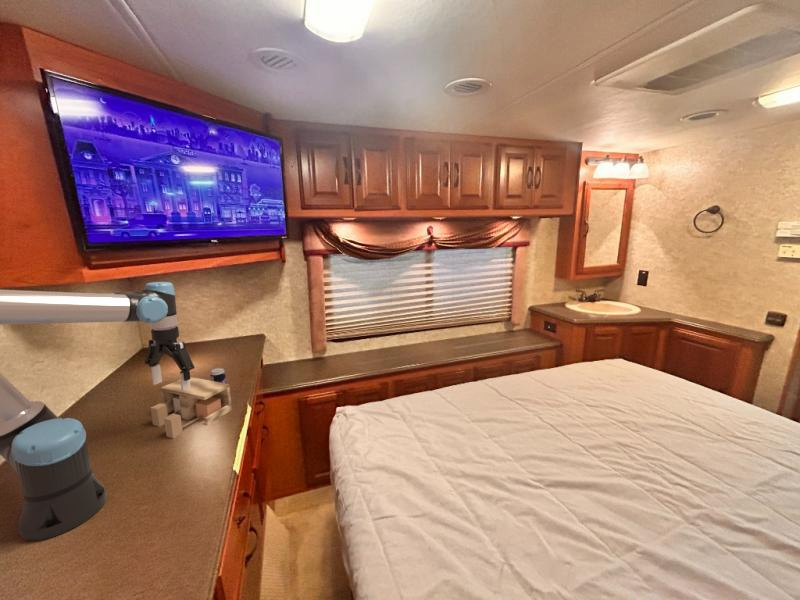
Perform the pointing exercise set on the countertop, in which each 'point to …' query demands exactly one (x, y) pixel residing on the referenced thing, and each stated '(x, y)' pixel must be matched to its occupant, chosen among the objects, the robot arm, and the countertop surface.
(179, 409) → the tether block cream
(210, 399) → the tether block terracotta
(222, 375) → the beverage can
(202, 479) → the countertop surface
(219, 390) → the shelf
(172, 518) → the countertop surface
